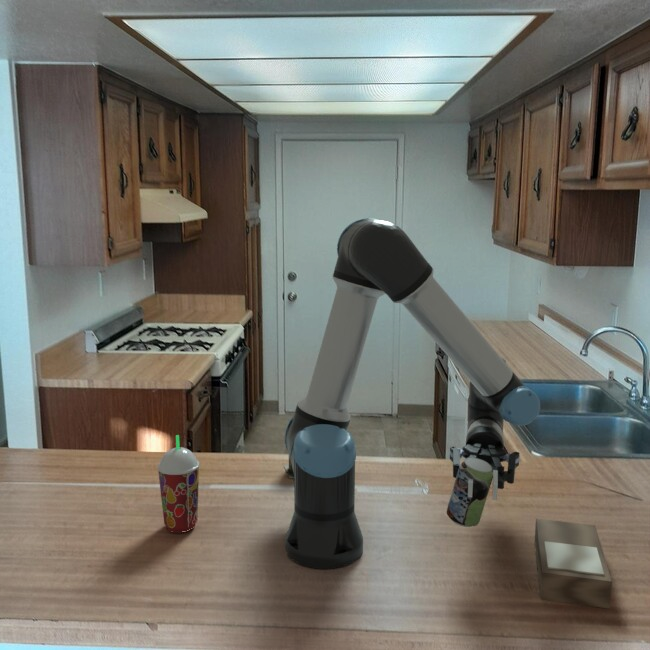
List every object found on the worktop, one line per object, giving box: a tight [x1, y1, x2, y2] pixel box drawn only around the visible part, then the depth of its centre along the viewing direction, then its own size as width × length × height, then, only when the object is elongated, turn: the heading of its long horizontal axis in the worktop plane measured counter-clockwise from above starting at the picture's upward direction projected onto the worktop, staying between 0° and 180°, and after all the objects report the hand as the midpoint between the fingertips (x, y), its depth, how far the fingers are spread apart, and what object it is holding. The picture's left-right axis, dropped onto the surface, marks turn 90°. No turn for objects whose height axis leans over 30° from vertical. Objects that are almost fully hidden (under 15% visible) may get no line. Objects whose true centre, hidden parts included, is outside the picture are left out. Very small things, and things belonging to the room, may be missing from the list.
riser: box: [534, 518, 613, 609], centre depth 122 cm, size 11×20×5 cm, turn 166°
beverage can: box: [446, 457, 493, 528], centre depth 120 cm, size 6×7×12 cm
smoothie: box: [157, 434, 200, 533], centre depth 138 cm, size 8×8×20 cm
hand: (482, 491), depth 115 cm, fingers closed on beverage can, 3 cm apart
